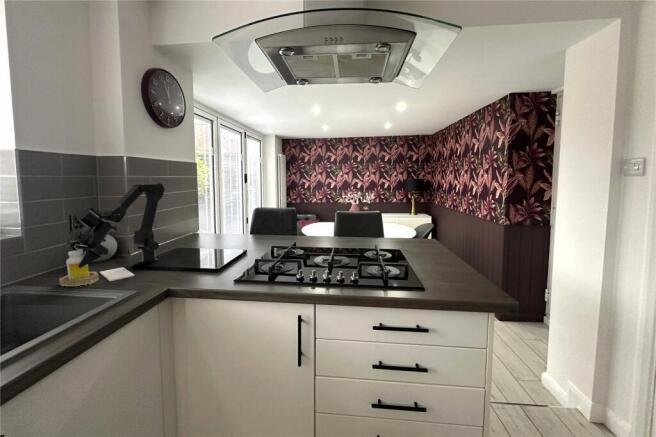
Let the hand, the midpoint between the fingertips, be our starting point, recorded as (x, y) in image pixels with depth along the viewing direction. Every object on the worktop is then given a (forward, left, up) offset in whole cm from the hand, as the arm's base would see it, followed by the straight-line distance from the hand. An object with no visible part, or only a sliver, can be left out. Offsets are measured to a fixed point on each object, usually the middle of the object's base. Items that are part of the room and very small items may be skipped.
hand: (73, 266), depth 129 cm
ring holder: (-1, +1, -7) cm, 7 cm away
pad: (-1, +14, -7) cm, 16 cm away
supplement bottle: (-1, +1, -7) cm, 7 cm away
